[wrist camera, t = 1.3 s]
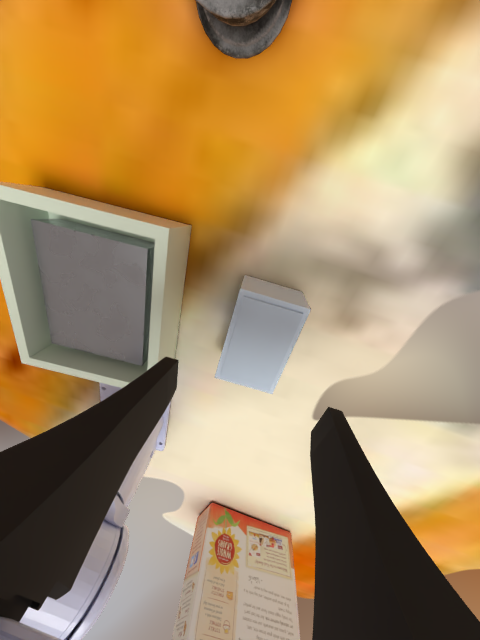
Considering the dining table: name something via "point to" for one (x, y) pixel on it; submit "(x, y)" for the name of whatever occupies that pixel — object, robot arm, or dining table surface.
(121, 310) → the tin block
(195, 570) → the cracker box
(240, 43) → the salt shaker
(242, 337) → the pale grey box
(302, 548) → the dining table surface
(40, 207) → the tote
